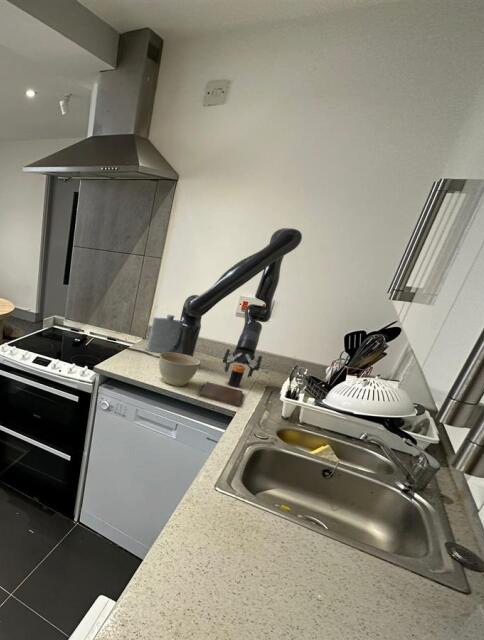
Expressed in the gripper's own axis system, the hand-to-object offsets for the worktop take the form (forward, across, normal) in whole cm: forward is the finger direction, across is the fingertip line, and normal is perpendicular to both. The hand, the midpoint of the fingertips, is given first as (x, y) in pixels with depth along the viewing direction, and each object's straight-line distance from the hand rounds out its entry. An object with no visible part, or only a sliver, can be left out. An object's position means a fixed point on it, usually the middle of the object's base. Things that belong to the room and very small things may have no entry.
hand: (237, 374), depth 168 cm
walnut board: (+15, -3, -7) cm, 16 cm away
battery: (+3, 0, +4) cm, 6 cm away
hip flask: (-14, -37, +22) cm, 45 cm away
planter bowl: (+15, -22, -7) cm, 27 cm away
